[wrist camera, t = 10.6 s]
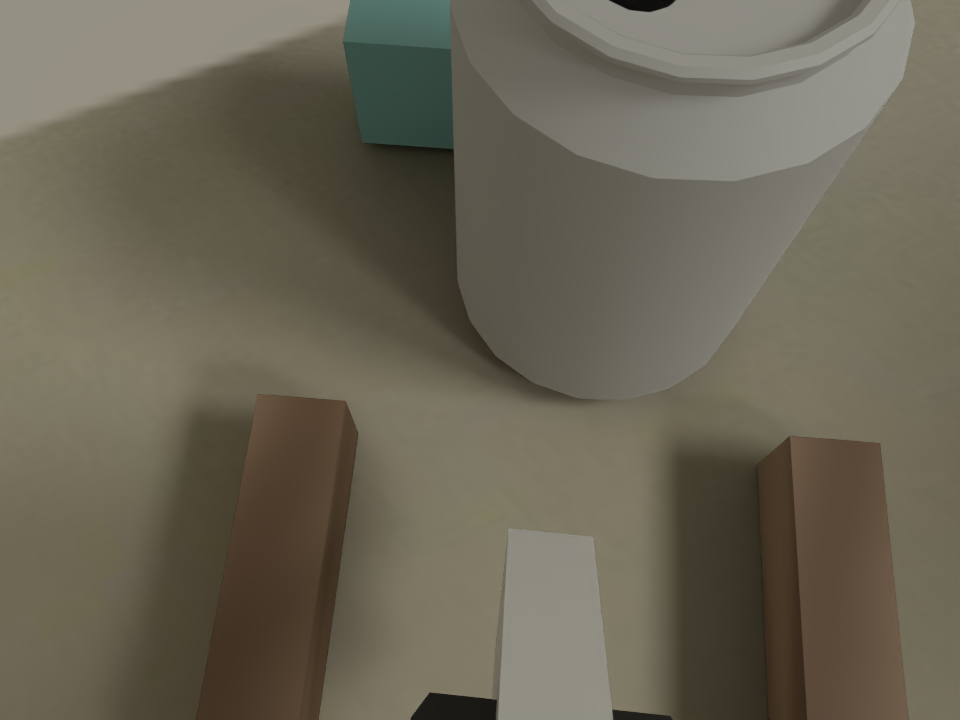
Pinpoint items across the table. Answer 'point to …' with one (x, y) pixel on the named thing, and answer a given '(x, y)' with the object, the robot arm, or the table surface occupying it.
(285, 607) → the chute
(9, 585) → the table surface
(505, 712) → the robot arm
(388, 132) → the bar
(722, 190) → the can
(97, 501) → the table surface
